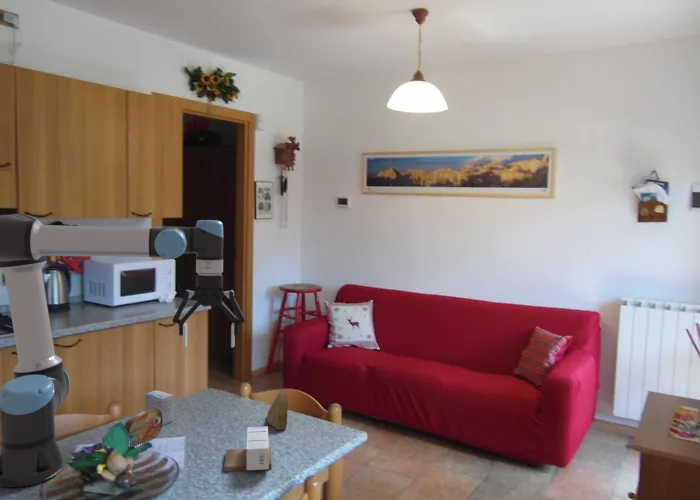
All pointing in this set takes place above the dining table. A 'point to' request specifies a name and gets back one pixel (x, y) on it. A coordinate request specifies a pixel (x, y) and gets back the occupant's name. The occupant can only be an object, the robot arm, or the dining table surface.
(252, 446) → the syrup box
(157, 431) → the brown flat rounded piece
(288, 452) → the dining table surface
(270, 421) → the rock
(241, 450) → the walnut board
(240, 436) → the dining table surface
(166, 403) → the medicine box
